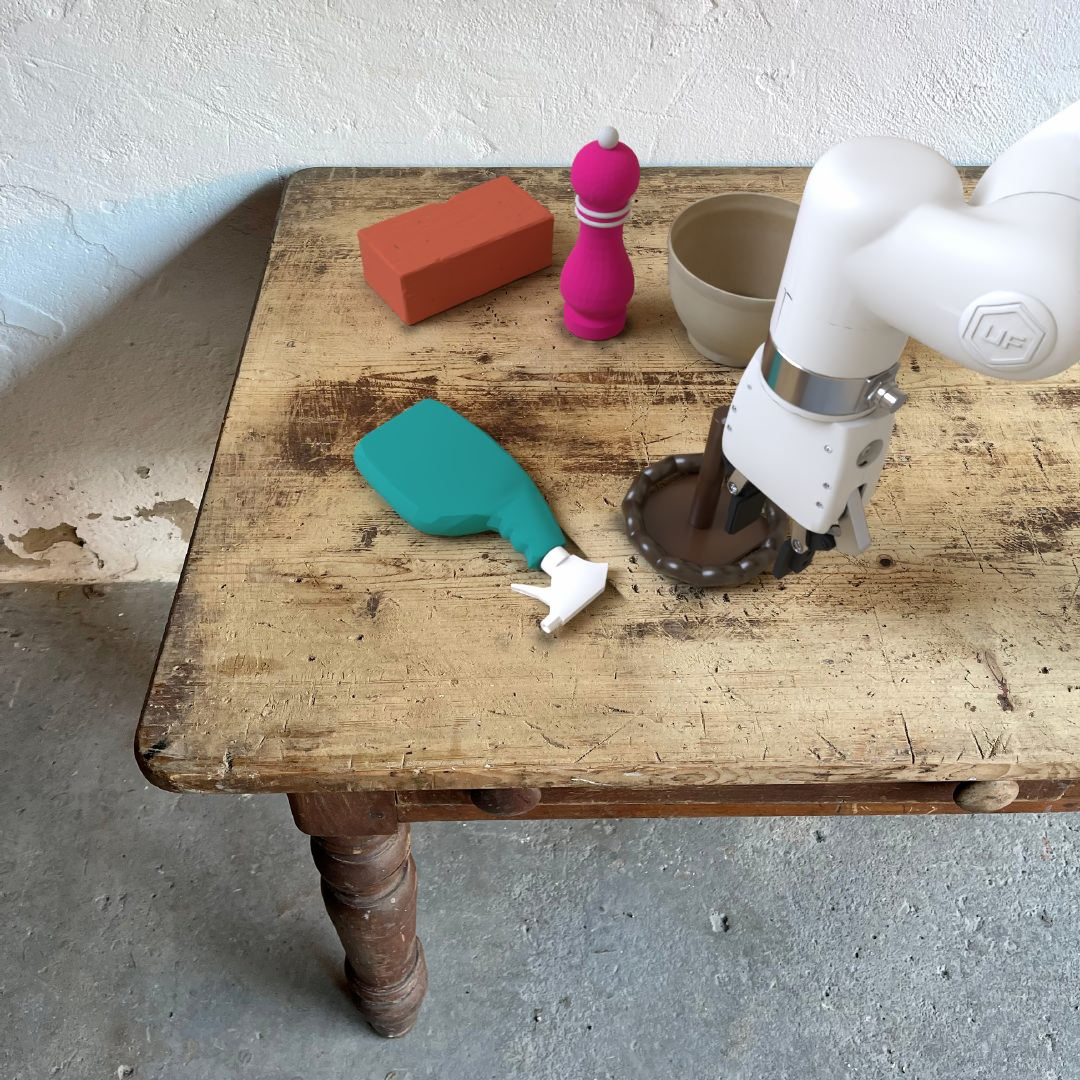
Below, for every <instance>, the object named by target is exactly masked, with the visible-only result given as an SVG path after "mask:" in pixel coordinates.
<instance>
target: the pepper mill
mask: <svg viewBox="0 0 1080 1080" xmlns="http://www.w3.org/2000/svg"><path fill="white" fill-rule="evenodd" d="M619 139H620V134H619V132H618V130H617V129H616V128H615V127H614V126H612V125H607V126H603V127H601V129H600V130H599V131H598V134H597V139H596V140H593V141H590V142H588V143H587V144H585V145H582V147H581V149H579V151H578V152H577V153H576V155H575V156H574V159H573V160H572V164H571V168H570V169H571V170H570V183H571V186H572V188H573V190H574V192H575V193H576V196H575V197H574V198H575V199H574V202H575V206H574V213H575V216H576V217H577V219H578V220H579V230H578V231H579V232H578V237H577V240H576V242H575V245H574V247H573V248H572V250H571V252H570V254H569V255H568V257H567V259H566V260H565V262H564V265H563V268H562V270H561V273H560V280H559V291H560V294H561V297H562V299H563V300H564V304H563V323H564V326H565V327H566V329H567V330H568V331H569V332H570V333H571V334H573V335H574V336H576V337H577V338H581V339H584V340H588V341H603V340H608V339H612V338H613V337H616V336H617V335H619V333H621V332H622V331H623V330H624V328H625V325H626V321H627V312H628V306H627V305H628V304H630V302H631V300H632V298H633V296H634V293H635V272H634V269H633V265H632V262H631V259H630V257H629V254H628V252H627V249H626V247H625V244H624V225H625V223H626V222H627V221H628V220H629V219H630V217H631V214H632V208H631V207H632V205H633V201H632V196H633V195H634V194H635V193H636V192H637V189H638V188H639V185H640V181H641V165H640V161H639V159H638V156H637V155H636V153H635V152H634V150H633V149H632V148H631V147H630V146H628V145H627V144H626V143H625V142H622V141H620V140H619Z"/></svg>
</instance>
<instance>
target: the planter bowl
mask: <svg viewBox="0 0 1080 1080" xmlns="http://www.w3.org/2000/svg"><path fill="white" fill-rule="evenodd" d="M800 204H801V202H799V201H796V200H792V199H790V198H786V197H784V196H778V195H774V194H768V193H763V192H754V191H733V192H725V193H719V194H713V195H709V196H707V197H706V196H705V197H704V198H701V199H698V200H696V201H694V202H692V203H690V204H688V205H687V206H685V207H683V209H682V210H680V211H679V212H678V213H677V214H676V215H675V217H674V218H673V220H672V222H671V223H670V226H669V229H668V234H667V253H668V254H667V282H668V287H669V288H668V289H669V293H670V297H671V300H672V303H673V306H674V308H675V311H676V313H677V316H678V317H679V319H680V321H681V323H682V325H683V326H684V328H685V329H686V332H687V336H688V340H689V342H690V344H691V345H692V347H693V348H694V349H695V350H696V351H697V352H698V353H700V354H701V355H702V357H705V358H706V359H708V360H710V361H712V362H714V363H717V364H720V365H724V366H728V367H734V368H747V366H748V364H749V363H750V361H751V359H752V358H753V356H754V354H755V353H756V351H757V349H758V348H759V347H760V346H761V345H762V344H763V343H764V342H765V340H766V337H767V333H768V329H769V325H770V321H771V317H772V313H773V309H774V306H775V302H776V298H777V294H778V290H779V287H780V283H781V279H782V275H783V271H784V267H785V263H786V259H787V255H788V251H789V248H790V244H791V240H792V236H793V232H794V228H795V224H796V220H797V216H798V212H799V208H800Z"/></svg>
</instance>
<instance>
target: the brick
mask: <svg viewBox="0 0 1080 1080" xmlns="http://www.w3.org/2000/svg"><path fill="white" fill-rule="evenodd" d="M554 225H555V215H554V214H553V213H551V211H550V210H549V209H548V208H547V207H546V206H544V205H543V204H541V203H540V202H539V201H538V200H537V199H536V198H534V197H533V196H532V195H530V194H529V193H528V191H526V190H524V189H523V188H522V187H520V186H519V185H517V183H516V182H515V181H513V180H512V178H510V177H509V176H508V175H501V176H499V177H496V178H494V179H491V180H488V181H485V182H484V183H482V184H479V185H477V186H474V187H471V188H468V189H465V190H464V191H460V192H458V193H457V194H454V195H452V196H451V197H450V198H448V200H447V201H445V202H431V203H427V204H426V205H422V206H420V207H417V208H415V209H411V210H409V211H406V212H402V213H400V214H398V215H395V216H393V217H390V218H386V219H384V220H381V221H379V222H376V223H373V224H371V225H369V226H366V227H362V228H360V229H359V230H357V232H356V236H357V239H358V246H359V252H360V257H361V264H362V270H363V275H364V279H365V282H366V284H368V285H369V286H370V288H371V289H372V290H373V291H374V292H375V293H376V294H377V295H378V297H380V298H381V299H382V300H383V301H384V302H385V303H386V304H387V305H388V307H389V308H390V309H391V310H392V311H393V312H394V313H395V314H396V315H397V316H398V317H399V318H400V319H401V321H402V323H405V324H406V325H407V326H412V325H414V324H416V323H418V322H421V321H424V320H425V319H428V318H430V317H432V316H434V315H437V314H439V313H441V312H444V311H446V310H448V309H450V308H454V307H455V306H457V305H460V304H462V303H465V302H467V301H470V300H472V299H474V298H477V297H481V296H482V295H484V294H487V293H489V292H491V291H493V290H497V289H499V288H501V287H502V286H504V285H507V284H509V283H511V282H513V281H516V280H519V279H521V278H524V277H527V276H528V275H532V274H534V273H536V272H538V271H541V270H543V269H545V268H548V267H551V265H554V260H553V256H554V252H553V249H554V248H553V247H554V237H555V236H554V233H555V232H554V229H555V227H554Z"/></svg>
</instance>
